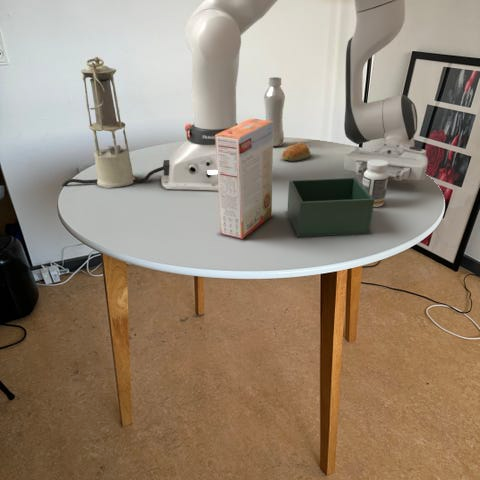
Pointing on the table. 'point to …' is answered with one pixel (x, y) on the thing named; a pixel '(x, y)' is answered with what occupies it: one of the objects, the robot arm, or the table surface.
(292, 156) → the pastry
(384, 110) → the robot arm
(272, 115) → the plastic bottle
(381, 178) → the pill bottle
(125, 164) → the lamp
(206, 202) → the table surface
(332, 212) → the bin
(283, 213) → the table surface
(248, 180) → the cracker box
